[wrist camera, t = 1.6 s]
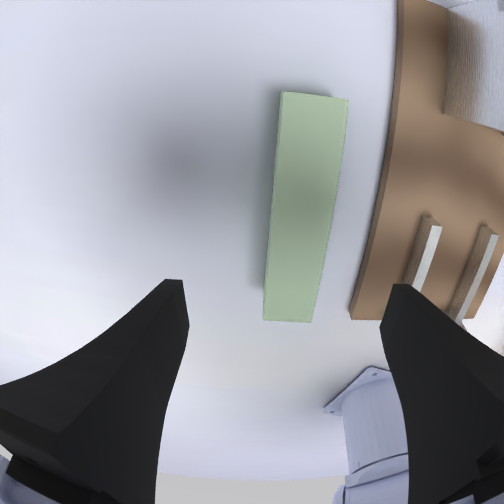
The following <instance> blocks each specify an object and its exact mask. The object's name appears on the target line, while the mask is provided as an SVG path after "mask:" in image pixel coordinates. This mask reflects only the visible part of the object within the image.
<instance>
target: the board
mask: <svg viewBox="0 0 504 504" xmlns="http://www.w3.org/2000/svg"><path fill="white" fill-rule="evenodd" d="M447 44H448V12H447V9H446V8H444V7H441V6H439V5H437V4H434V3H432V2H429V1H426V0H398V16H397V47H396V64H395V77H394V88H393V98H392V107H391V116H390V124H389V131H388V138H387V145H386V151H385V158H384V164H383V169H382V175H381V181H380V186H379V191H378V196H377V201H376V206H375V211H374V215H373V220H372V225H371V229H370V233H369V238H368V242H367V246H366V250H365V254H364V258H363V262H362V266H361V269H360V273H359V277H358V280H357V284H356V288H355V291H354V295H353V298H352V302H351V305H350V308H349V313H350V317H351V320H382V318H383V315H384V312H385V309H386V306H387V303H388V299H389V296H390V293H391V289H392V286H393V284H401V282H402V279H403V276H404V273H405V271H406V268H407V264H408V261H409V258H410V255H411V252H412V249H413V245H414V242H415V239H416V235H417V232H418V228H419V225H420V221H421V217H422V215H424V216H431V217H433V218H434V219H435V220H436V221H437V222H438V223H439V224H440V225H441V226H442V230H441V234H440V237H439V240H438V243H437V246H436V249H435V252H434V255H433V258H432V261H431V264H430V267H429V270H428V272H427V275H426V278H425V280H424V283H423V286H422V288H421V291H420V293H421V294H423V295H424V296H425V297H426V298H427V299H429V300H430V301H431V302H432V303H433V304H434V305H436V306H437V307H438V308H439V309H440V310H447V308H448V306H449V304H450V302H451V300H452V298H453V295H454V293H455V291H456V289H457V286H458V284H459V282H460V279H461V277H462V274H463V272H464V269H465V267H466V264H467V262H468V259H469V256H470V254H471V251H472V248H473V245H474V243H475V240H476V237H477V234H478V231H479V228H480V225H486V226H489V227H490V228H491V229H492V230H493V231H495V232H496V233H497V234H498V235H499V237H498V240H497V242H496V245H495V248H494V251H493V253H492V256H491V258H490V261H489V263H488V266H487V268H486V271H485V273H484V275H483V278H482V280H481V282H480V285H479V287H478V289H477V291H476V293H475V296H474V298H473V300H472V302H471V304H470V306H469V308H468V310H467V312H466V314H465V316H464V318H463V319H471V318H474V317H475V315H476V313H477V311H478V309H479V307H480V305H481V303H482V301H483V299H484V297H485V295H486V292H487V290H488V288H489V286H490V284H491V282H492V279H493V277H494V275H495V272H496V270H497V268H498V265H499V263H500V260H501V258H502V255H503V253H504V136H502V131H499V130H496V129H492V128H489V127H486V126H483V125H479V124H476V123H473V122H469V121H465V120H462V119H458V118H454V117H451V116H447V115H444V114H442V110H443V101H444V92H445V81H446V67H447Z"/></svg>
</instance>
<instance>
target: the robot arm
mask: <svg viewBox="0 0 504 504" xmlns="http://www.w3.org/2000/svg"><path fill="white" fill-rule="evenodd" d="M379 328H380V333H381V338H382V343H383V348H384V353H385V356H386V359H387V362H388V365H389V368H390V371H391V372H389V371H385V370H381V369H377V368H373V367H370V368H368V369H366V370H365V371H364V372H363V373H362V374H361V375H360V376H359V377H358V378H357V379H356V380H355V381H354V382H353V383H352V384H351V385H350V386H348V387H347V388H346V389H345V390H344V391H343V392H342V393H341V394H340V395H339V396H337V397H336V398H335V399H334V400H333V401H332V402H331V403H330V404H328V405H327V406H326V407H325V408H324V413H326V414H332V415H337V416H342V418H343V425H344V432H345V440H346V447H347V455H348V464H349V472H350V475H347V476H345V483H346V484H345V485H341V486H340V487H339V488H338V490H337V492H336V494H335V495H334V498H333V504H504V357H503V356H502V355H500V354H498V353H497V352H495V351H494V350H492V349H491V348H489V347H488V346H486V345H485V344H483V343H482V342H480V341H479V340H478V339H476V338H475V337H473V336H472V335H471V334H470V333H468V332H467V331H466V330H464V329H463V328H462V327H461V326H459V325H458V324H457V323H456V322H455V321H453V320H452V319H451V318H450V317H448V316H447V315H446V314H445V313H444V312H443V311H441V310H440V309H439V308H438V307H437V306H436V305H434V304H433V303H432V302H431V301H430V300H429V299H427V298H426V297H425V296H424V295H423V294H421V293H420V292H419V291H418V290H416V289H415V288H414V287H412V286H411V285H410V284H393V286H392V289H391V293H390V296H389V299H388V303H387V306H386V309H385V312H384V315H383V318H382V321H381V324H380V327H379ZM188 331H189V319H188V313H187V307H186V301H185V295H184V288H183V282H182V280H174V279H165V280H164V281H162V282H161V283H160V284H159V285H158V286H157V287H156V288H154V289H153V290H152V291H151V292H150V293H149V294H148V295H147V296H146V297H145V298H144V299H142V300H141V301H140V302H139V303H138V304H137V305H136V306H135V307H134V308H132V309H131V310H130V311H129V312H128V313H127V314H126V315H124V316H123V317H122V318H121V319H119V320H118V321H117V322H116V323H115V324H113V325H112V326H111V327H110V328H108V329H107V330H106V331H105V332H103V333H102V334H101V335H99V336H98V337H97V338H95V339H94V340H92V341H91V342H89V343H88V344H86V345H85V346H83V347H82V348H80V349H79V350H77V351H75V352H74V353H72V354H70V355H68V356H67V357H65V358H63V359H61V360H60V361H58V362H56V363H54V364H52V365H50V366H48V367H46V368H44V369H42V370H40V371H37V372H35V373H33V374H31V375H28V376H26V377H23V378H21V379H18V380H15V381H12V382H9V383H6V384H3V385H0V444H1V445H2V446H3V447H5V448H6V449H7V450H8V451H9V452H10V453H11V454H13V456H12V458H11V461H9V460H8V459H6V458H5V457H3V456H2V455H0V504H155V487H156V475H157V466H158V457H159V450H160V443H161V436H162V430H163V424H164V419H165V413H166V409H167V405H168V402H169V398H170V395H171V392H172V389H173V386H174V383H175V380H176V376H177V373H178V370H179V367H180V364H181V361H182V358H183V355H184V351H185V347H186V342H187V337H188Z"/></svg>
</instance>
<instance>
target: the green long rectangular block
mask: <svg viewBox="0 0 504 504" xmlns="http://www.w3.org/2000/svg"><path fill="white" fill-rule="evenodd" d="M348 103H349V100H347V99H340V98H334V97H327V96H320V95H313V94H304V93H295V92H285V91H282V92H281V93H280V107H279V120H278V133H277V145H276V158H275V170H274V182H273V193H272V205H271V216H270V227H269V238H268V249H267V260H266V270H265V281H264V296H263V320H270V321H286V322H306V323H311V320H312V316H313V311H314V307H315V302H316V298H317V293H318V289H319V284H320V279H321V275H322V270H323V265H324V260H325V255H326V250H327V245H328V239H329V234H330V229H331V223H332V217H333V212H334V206H335V200H336V193H337V187H338V181H339V174H340V167H341V160H342V153H343V146H344V138H345V130H346V121H347V113H348Z"/></svg>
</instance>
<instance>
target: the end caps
mask: <svg viewBox="0 0 504 504" xmlns="http://www.w3.org/2000/svg"><path fill="white" fill-rule="evenodd" d="M447 12H448V44H447V67H446V81H445V92H444V101H443V110H442V114H444V115H447V116H451V117H454V118H458V119H462V120H465V121H469V122H473V123H476V124H479V125H483V126H486V127H489V128H492V129H496V130H499V131H502V136H504V0H476V1H472V2H469V3H465V4H462V5H459V6H455V7H452V8H449V9H447ZM441 230H442V226H441V225H440V224H439V223H438V222H437V221H436V220H435V219H434V218H433V217H431V216H424V215H422V217H421V221H420V225H419V228H418V232H417V235H416V239H415V242H414V245H413V249H412V252H411V255H410V258H409V261H408V264H407V268H406V271H405V273H404V276H403V279H402V282H401V284H410V285H411V286H412V287H414V288H415V289H416V290H418V291H419V292H420V291H421V288H422V286H423V283H424V280H425V278H426V275H427V272H428V270H429V267H430V264H431V261H432V258H433V255H434V252H435V249H436V246H437V243H438V240H439V237H440V234H441ZM498 237H499V235H498V234H497V233H496V232H495V231H493V230H492V229H491V228H490V227H489V226H486V225H480V228H479V231H478V234H477V237H476V240H475V243H474V245H473V248H472V251H471V254H470V256H469V259H468V262H467V264H466V267H465V269H464V272H463V274H462V277H461V279H460V282H459V284H458V286H457V289H456V291H455V293H454V295H453V298H452V300H451V302H450V304H449V306H448V308H447V310H441V311H443V312H444V313H445V314H446V315H447V316H448V317H450V318H451V319H452V320H453V321H455V322H456V323H457V324H458V325H459V326H461V327H462V328H463V329H464V330H466V329H465V327H464V325H463V324H462V320H463V318H464V316H465V314H466V312H467V310H468V308H469V306H470V304H471V302H472V300H473V298H474V296H475V293H476V291H477V289H478V287H479V285H480V282H481V280H482V278H483V275H484V273H485V271H486V268H487V266H488V263H489V261H490V258H491V256H492V253H493V251H494V248H495V245H496V242H497V240H498ZM466 331H467V330H466Z"/></svg>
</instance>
